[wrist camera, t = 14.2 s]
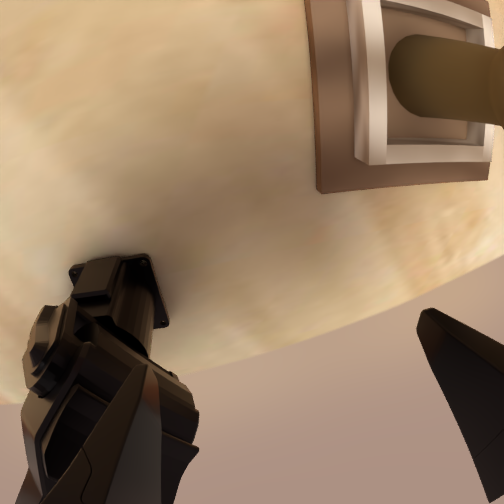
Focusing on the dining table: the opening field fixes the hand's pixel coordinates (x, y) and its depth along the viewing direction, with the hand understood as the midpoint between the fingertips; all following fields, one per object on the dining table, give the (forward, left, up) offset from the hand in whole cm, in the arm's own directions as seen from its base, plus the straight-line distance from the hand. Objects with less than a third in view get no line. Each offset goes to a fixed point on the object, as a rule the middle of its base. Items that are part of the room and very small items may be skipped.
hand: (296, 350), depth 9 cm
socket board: (+8, -13, -13) cm, 20 cm away
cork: (+8, -13, -12) cm, 19 cm away
